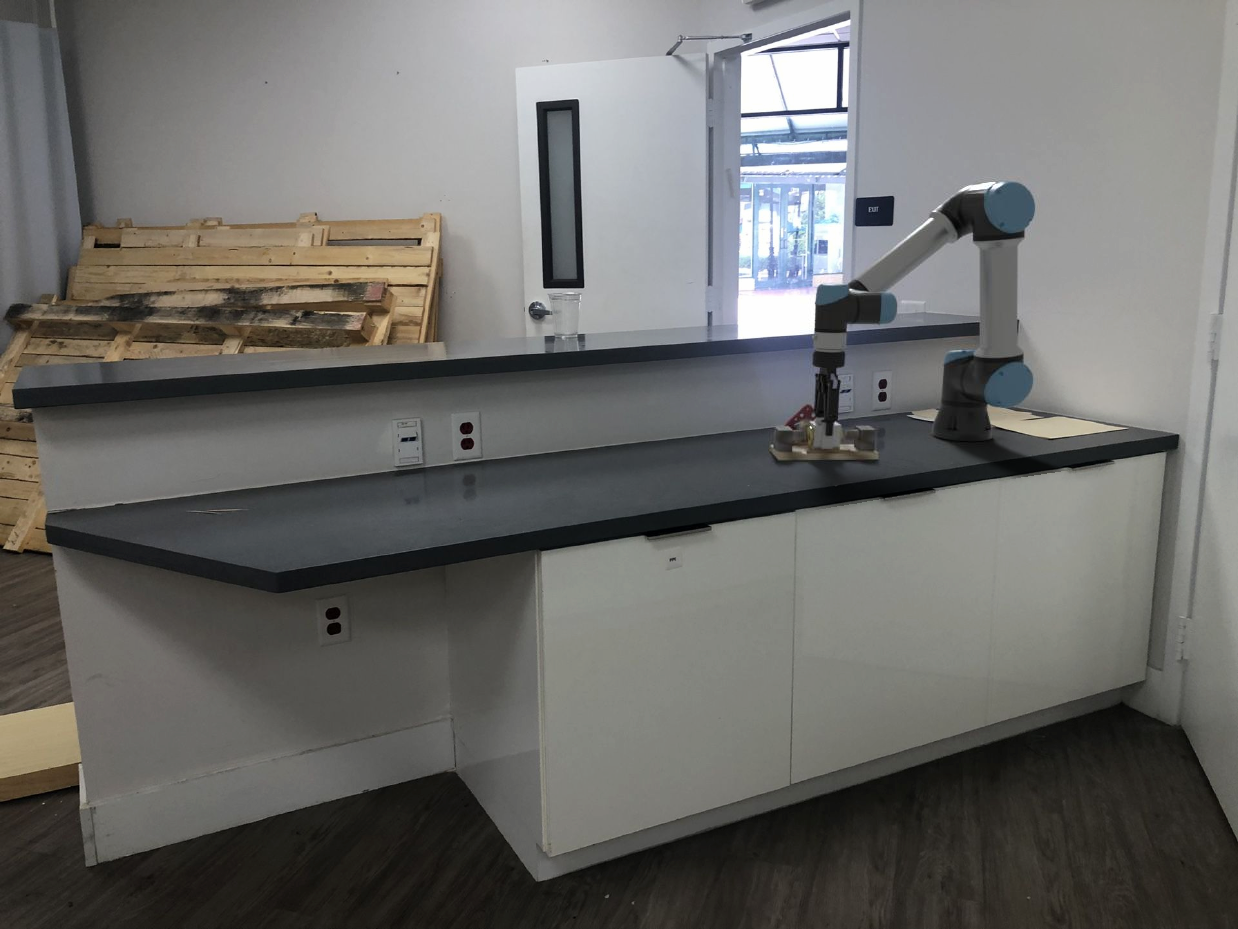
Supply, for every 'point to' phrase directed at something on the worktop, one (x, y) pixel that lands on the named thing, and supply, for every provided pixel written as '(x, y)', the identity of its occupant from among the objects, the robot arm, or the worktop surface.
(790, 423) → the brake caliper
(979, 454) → the worktop surface
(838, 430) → the coupler
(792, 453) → the shaft bench
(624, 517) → the worktop surface
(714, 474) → the worktop surface
